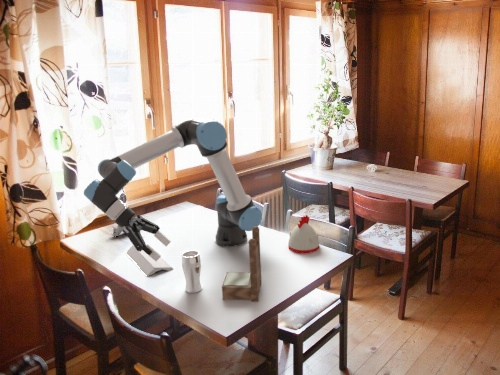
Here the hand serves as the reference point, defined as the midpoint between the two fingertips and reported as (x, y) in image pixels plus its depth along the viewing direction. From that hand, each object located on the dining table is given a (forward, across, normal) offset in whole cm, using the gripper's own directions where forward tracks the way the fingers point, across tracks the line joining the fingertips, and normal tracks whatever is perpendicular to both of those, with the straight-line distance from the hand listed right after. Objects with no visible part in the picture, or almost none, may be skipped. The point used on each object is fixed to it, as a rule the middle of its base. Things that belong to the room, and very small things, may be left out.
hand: (163, 251), depth 178 cm
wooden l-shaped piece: (+32, +1, +9) cm, 34 cm away
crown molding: (+1, -26, -23) cm, 35 cm away
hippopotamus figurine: (-16, -56, -39) cm, 70 cm away
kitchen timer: (+49, -41, +26) cm, 68 cm away
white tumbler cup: (+19, 0, -4) cm, 19 cm away
